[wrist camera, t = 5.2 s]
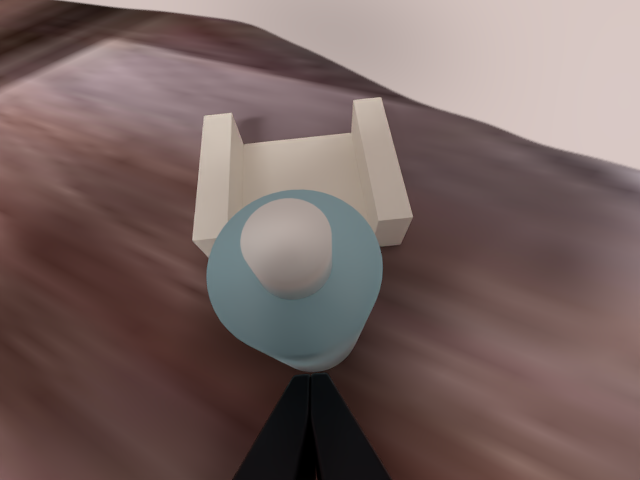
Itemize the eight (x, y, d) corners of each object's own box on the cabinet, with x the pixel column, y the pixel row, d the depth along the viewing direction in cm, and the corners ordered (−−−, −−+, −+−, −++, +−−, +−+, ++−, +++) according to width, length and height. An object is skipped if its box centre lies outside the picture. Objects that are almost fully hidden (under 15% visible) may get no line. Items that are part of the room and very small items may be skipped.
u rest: (400, 244, 17) (413, 217, 14) (215, 264, 17) (192, 240, 14) (374, 135, 20) (381, 97, 18) (221, 152, 20) (204, 115, 18)
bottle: (370, 361, 14) (422, 321, 6) (272, 381, 14) (178, 370, 6) (348, 270, 16) (362, 140, 8) (262, 286, 16) (181, 172, 8)
